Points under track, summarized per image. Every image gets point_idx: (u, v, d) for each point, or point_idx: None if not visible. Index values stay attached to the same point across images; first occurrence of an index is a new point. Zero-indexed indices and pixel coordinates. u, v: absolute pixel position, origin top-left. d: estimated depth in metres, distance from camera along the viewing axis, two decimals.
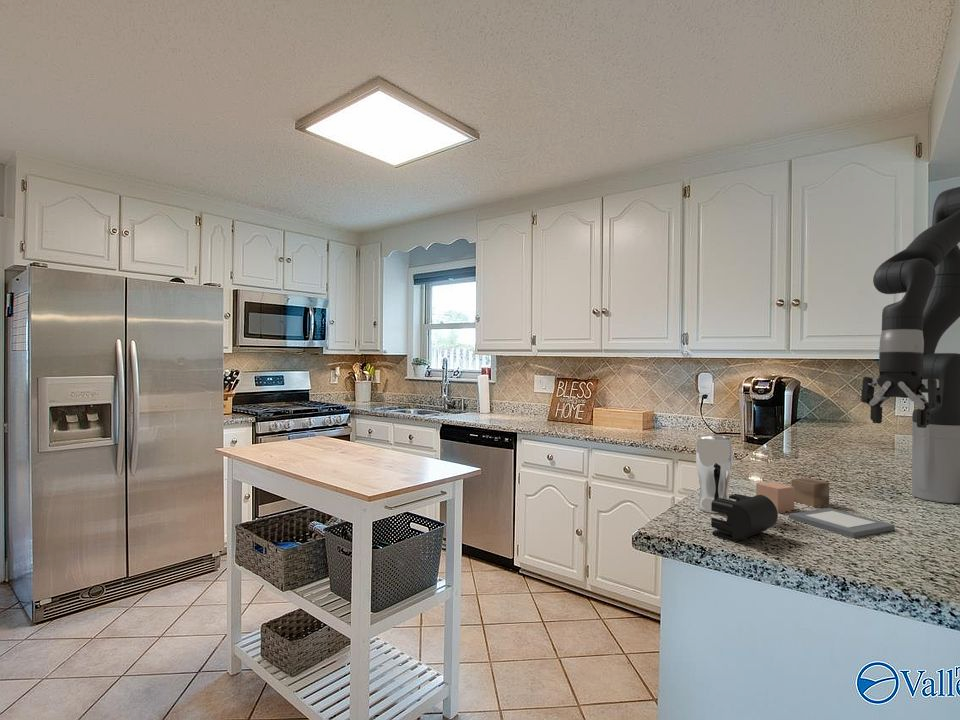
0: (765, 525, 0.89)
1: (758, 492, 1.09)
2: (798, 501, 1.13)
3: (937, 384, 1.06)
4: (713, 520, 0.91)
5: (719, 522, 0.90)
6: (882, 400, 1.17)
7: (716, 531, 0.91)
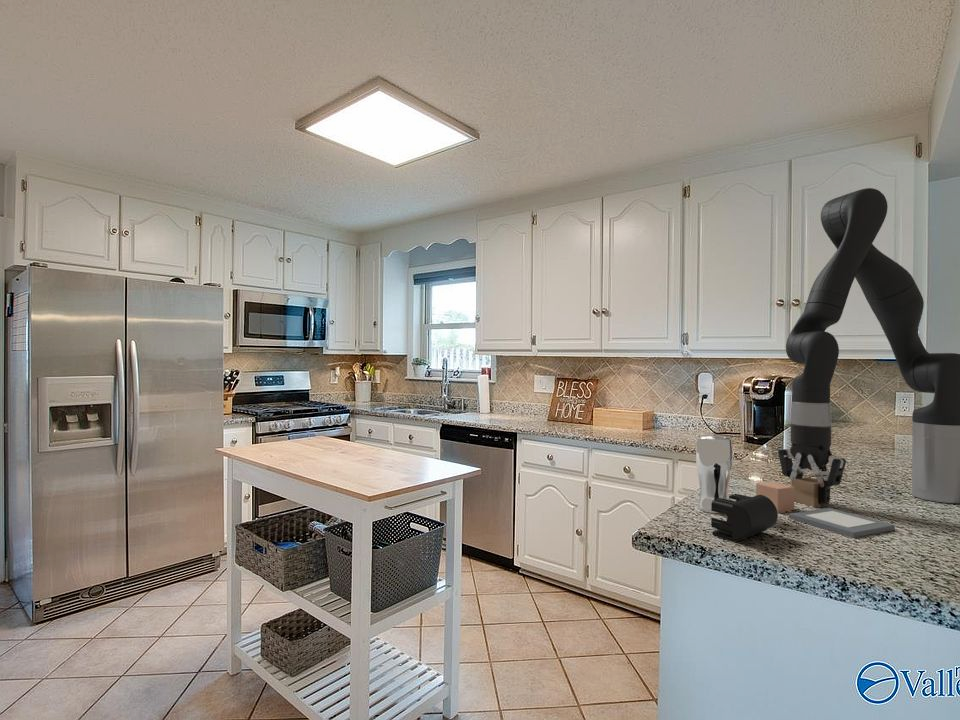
0: (765, 525, 0.89)
1: (758, 492, 1.09)
2: (798, 501, 1.13)
3: (840, 466, 1.07)
4: (713, 520, 0.91)
5: (719, 522, 0.90)
6: (801, 473, 1.15)
7: (716, 531, 0.91)
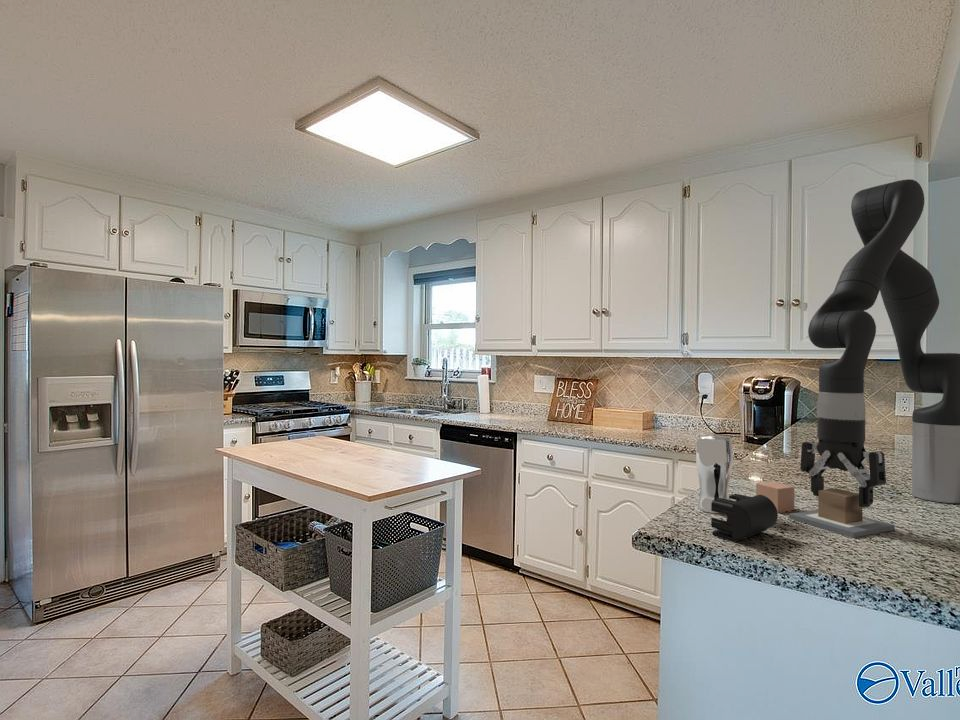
0: (765, 525, 0.89)
1: (758, 492, 1.09)
2: (826, 515, 0.98)
3: (879, 459, 0.92)
4: (713, 520, 0.91)
5: (719, 522, 0.90)
6: (823, 469, 1.02)
7: (716, 531, 0.91)
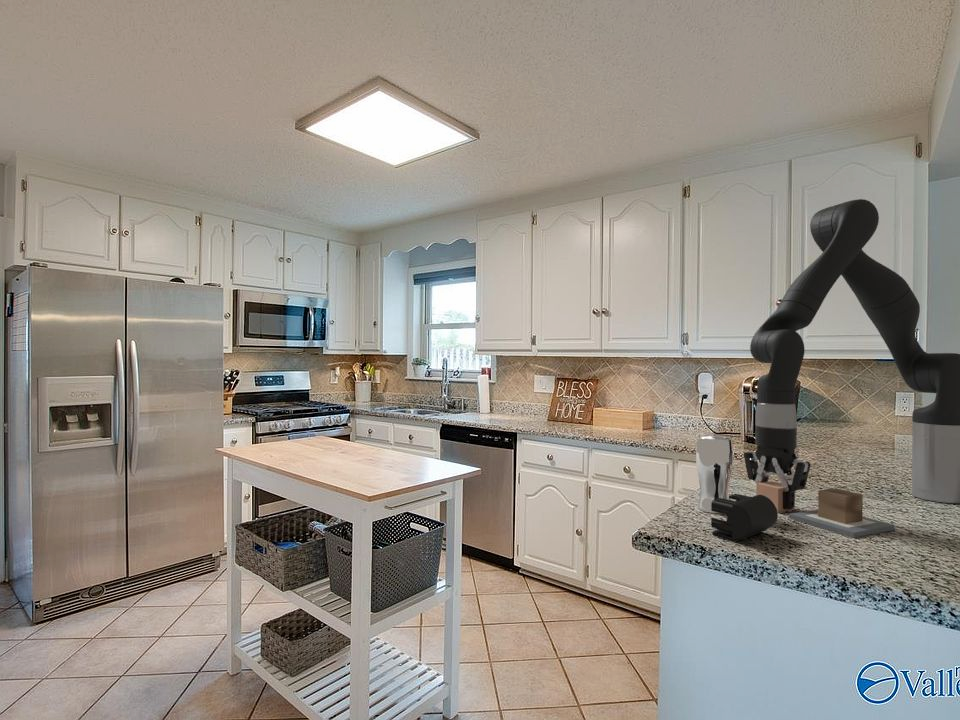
0: (765, 525, 0.89)
1: (758, 491, 1.09)
2: (826, 515, 0.98)
3: (804, 469, 1.02)
4: (713, 520, 0.91)
5: (719, 522, 0.90)
6: (766, 476, 1.11)
7: (716, 531, 0.91)
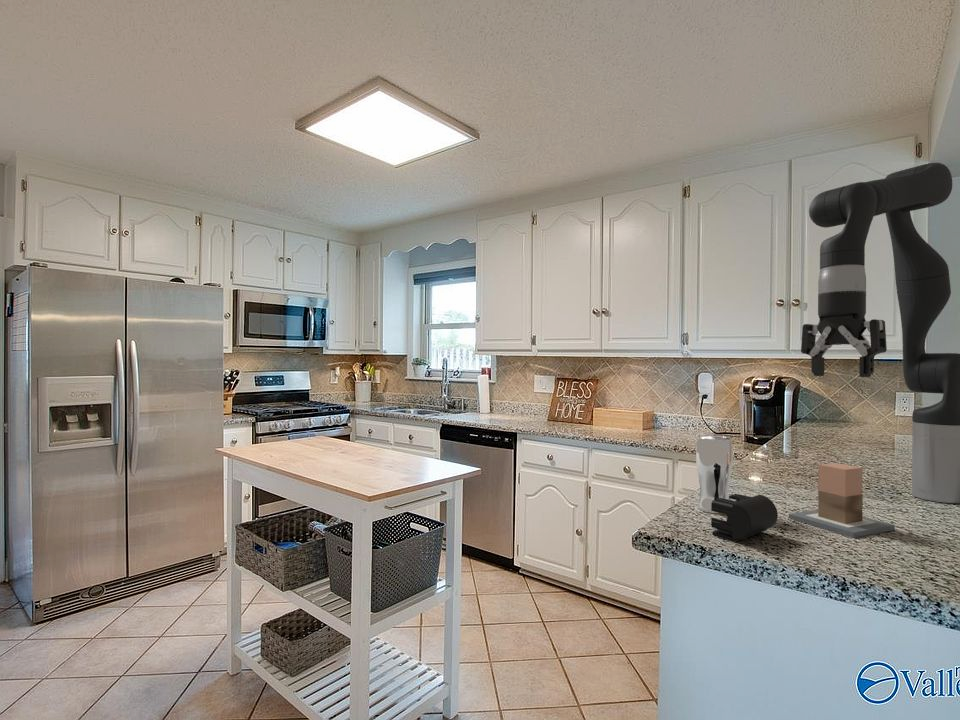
0: (765, 525, 0.89)
1: (821, 474, 0.99)
2: (826, 515, 0.98)
3: (880, 326, 0.92)
4: (713, 520, 0.91)
5: (719, 522, 0.90)
6: (824, 349, 1.02)
7: (716, 531, 0.91)
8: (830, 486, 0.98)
